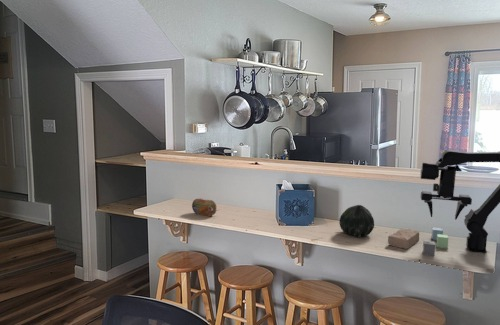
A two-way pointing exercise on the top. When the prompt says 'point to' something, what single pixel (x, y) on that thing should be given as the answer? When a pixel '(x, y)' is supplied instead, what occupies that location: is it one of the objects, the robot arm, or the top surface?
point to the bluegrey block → (436, 232)
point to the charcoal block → (429, 248)
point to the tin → (204, 207)
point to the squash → (357, 221)
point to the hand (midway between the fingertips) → (443, 218)
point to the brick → (403, 238)
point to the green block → (442, 241)
